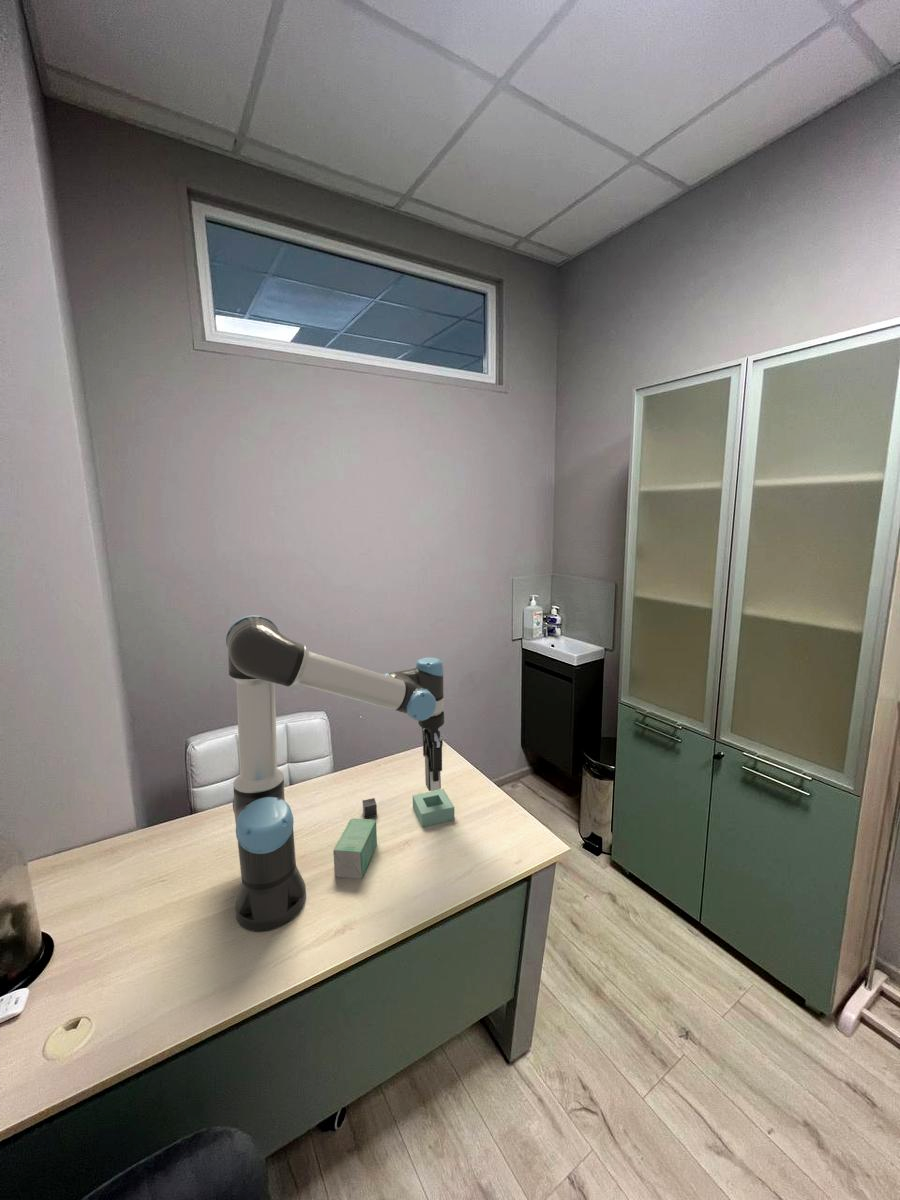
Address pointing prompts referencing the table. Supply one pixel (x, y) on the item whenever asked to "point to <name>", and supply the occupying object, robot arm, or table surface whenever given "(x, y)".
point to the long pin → (427, 767)
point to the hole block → (433, 807)
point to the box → (355, 848)
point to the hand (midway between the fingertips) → (433, 785)
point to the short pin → (369, 808)
